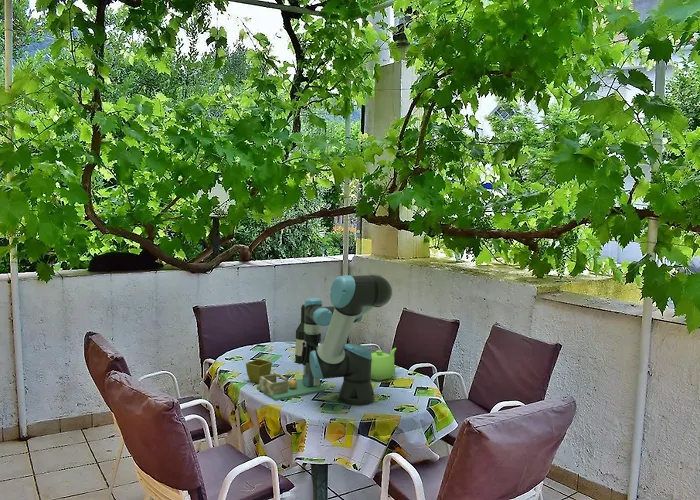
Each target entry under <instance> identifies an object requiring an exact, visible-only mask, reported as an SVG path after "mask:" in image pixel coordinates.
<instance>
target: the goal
mask: <svg viewBox="0 0 700 500" xmlns="http://www.w3.org/2000/svg"><path fill="white" fill-rule="evenodd" d="M277 378H279V379H280V380H282V381H277ZM288 381H289V379H288V377H285V376H284V375H282V374H280V373H278V372H277V371H274V372H273V374H270V375H266V376H259V383H258V386H259V388H260V389H261V390H262V391H264V392H265V393H267V394H269V395H277V394H282V393H288Z"/></svg>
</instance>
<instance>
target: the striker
mask: <svg viewBox="0 0 700 500" xmlns="http://www.w3.org/2000/svg"><path fill="white" fill-rule="evenodd" d="M302 379H303V380H302V384H304V385H306V386H307V387H309V386H314V377H313V375H312V372H311V368H310V362H306V374H305V375H303V374H302Z"/></svg>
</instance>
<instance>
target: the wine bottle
mask: <svg viewBox="0 0 700 500" xmlns="http://www.w3.org/2000/svg"><path fill="white" fill-rule="evenodd" d="M304 306H305V303H304V304H301V307H300V311H301V312H300V324H298V327H297V328H296V330H295V350H294V351H295V353H294V355H295V356H294V358H295V359H294V362H295V363H296V364H298V365H303V363H301V356H302V349H303V342H305V341H304V333H305V332H304V323H305V307H304ZM303 360H304V359H303ZM309 362H310V361H309Z"/></svg>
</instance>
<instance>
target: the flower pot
mask: <svg viewBox="0 0 700 500" xmlns="http://www.w3.org/2000/svg"><path fill="white" fill-rule="evenodd" d="M272 365H273V361H270V360H266V359H265V360H264V359H261V358H256V359H253V360H251V361H248V362H246V363H245V366H246V367H245V368H246V374H247V375H246V376H247V377H248V378H249V380H250V382H253V383H256V384H259V376H266V375H271V371H272Z"/></svg>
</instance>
